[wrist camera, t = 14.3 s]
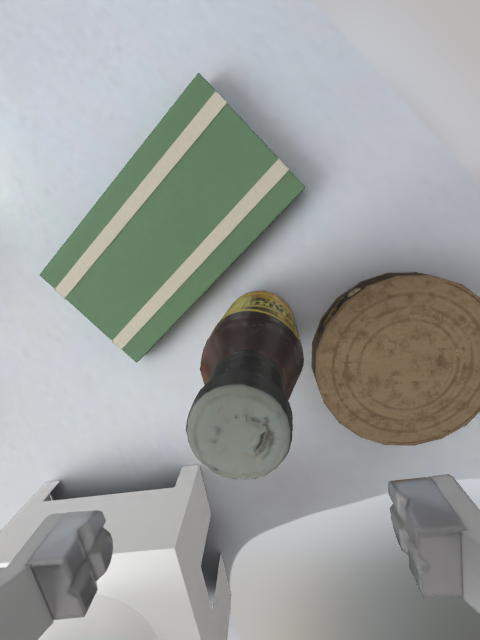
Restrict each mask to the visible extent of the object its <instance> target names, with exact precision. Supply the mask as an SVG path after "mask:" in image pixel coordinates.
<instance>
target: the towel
mask: <svg viewBox="0 0 480 640" xmlns="http://www.w3.org/2000/svg"><path fill="white" fill-rule="evenodd" d="M304 188H305V186H304V185H303V184H302V183H301V182H300V181H299V180H298V179H297V178H296V177H295V176H294V174H293V173H292V172H291V171H290V170H289V168H288V167H287V166H286V165H285V164H284V163H283V162H282V161H281V160H280V159H279V158H278V157H277V156H276V155H275V154H274V153H273V152H272V151H271V150H270V149H269V148H268V147H267V145H266V144H265V143H264V142H263V141H262V140H261V139H260V138H259V137H258V136H257V135H256V134H255V133H254V131H253V130H252V129H251V128H250V127H249V126H248V125H247V124H246V123H245V122H244V121H243V120H242V119H241V118H240V116H239V115H238V114H237V113H236V112H235V111H234V110H233V109H232V108H231V107H230V106H229V105H228V104H227V102H226V101H225V100H224V99H223V98H222V96H221V95H220V94H219V93H218V92H217V91H215V90H214V88H213V87H212V86H211V85H210V84H209V83H208V82H207V81H206V80H205V79H204V78H203V77H202V76H201V75H200V73H198V74H197V75H196V77H195V78H194V79H193V80H192V82H191V83H190V84H189V86H188V87H187V88H186V89H185V91H184V92H183V93H182V94H181V96H180V97H179V98H178V100H177V101H176V102H175V103H174V105H173V106H172V107H171V108H170V110H169V111H168V112H167V114H166V115H165V116H164V117H163V119H162V120H161V121H160V122H159V124H158V125H157V126H156V127H155V129H154V130H153V131H152V133H151V134H150V135H149V136H148V138H147V139H146V140H145V141H144V143H143V144H142V145H141V147H140V148H139V149H138V150H137V152H136V153H135V154H134V155H133V157H132V158H131V159H130V161H129V162H128V163H127V164H126V166H125V167H124V168H123V169H122V171H121V172H120V173H119V175H118V176H117V177H116V178H115V180H114V181H113V182H112V183H111V185H110V186H109V187H108V189H107V190H106V191H105V192H104V194H103V195H102V196H101V197H100V199H99V200H98V201H97V202H96V204H95V205H94V206H93V208H92V209H91V210H90V211H89V213H88V214H87V215H86V216H85V218H84V219H83V220H82V222H81V223H80V224H79V225H78V227H77V228H76V229H75V230H74V232H73V233H72V234H71V236H70V237H69V238H68V239H67V241H66V242H65V243H64V244H63V246H62V247H61V248H60V250H59V251H58V252H57V253H56V255H55V256H54V257H53V258H52V260H51V261H50V262H49V264H48V265H47V266H46V267H45V269H44V270H43V271H42V272H41V274H40V276H41V277H42V278H43V279H44V280H46V281H47V282H48V283H49V284H50V285H51V286H52V287H53V288H54V290H55V291H56V292H58V293H59V294H60V295H61V296H62V297H63V298H64V299H65V298H66V299H67V300H68V301H69V302H70V303H71V304H72V305H73V306H74V307H76V308H77V309H78V310H79V311H80V312H81V313H82V314H83V315H84V316H85V317H87V318H88V319H89V320H90V321H91V322H92V323H93V324H94V325H95V326H97V327H98V328H99V329H100V330H101V331H102V332H103V333H104V334H105V335H107V336H108V337H109V338H110V339H111V340H112V342H113V343H114V344H115V345H116V346H117V347H119V348H120V349H121V350H123V351H124V352H125V353H126V354H128V355H129V356H130V357H131V358H132V359H133V360H134V361H135V362H138V361H139V360H140V359H141V358H142V357H143V356H144V355H145V354H146V353H147V352H148V351H149V350H150V349H151V348H152V347H153V346H154V345H155V344H156V343H157V342H158V341H159V340H160V339H161V338H162V336H163V335H164V334H165V333H166V332H167V331H168V330H169V329H170V328H171V327H172V326H173V325H174V324H175V323H176V322H177V321H178V320H179V319H180V318H181V317H182V316H183V315H184V314H185V313H186V312H187V311H188V309H189V308H190V307H191V306H192V305H193V304H194V303H195V302H196V301H197V300H198V299H199V298H200V297H201V296H202V295H203V294H204V293H205V292H206V291H207V290H208V289H209V288H210V287H211V286H212V285H213V283H214V282H215V281H216V280H217V279H218V278H219V277H220V276H221V275H222V274H223V273H224V272H225V271H226V270H227V269H228V268H229V267H230V266H231V265H232V264H233V263H234V262H235V261H236V260H237V259H238V257H239V256H240V255H241V254H242V253H243V252H244V251H245V250H246V249H247V248H248V247H249V246H250V245H251V244H252V243H253V242H254V241H255V240H256V239H257V238H258V237H259V236H260V235H261V234H262V233H263V231H264V230H265V229H266V228H267V227H268V226H269V225H270V224H271V223H272V222H273V221H274V220H275V219H276V218H277V217H278V216H279V215H280V214H281V213H282V212H283V211H284V210H285V209H286V208H287V207H288V206H289V204H290V203H291V202H292V201H293V200H294V199H295V198H296V197H297V196H298V195H299V194H300V193H301V192H302V191H303V189H304Z"/></svg>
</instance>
